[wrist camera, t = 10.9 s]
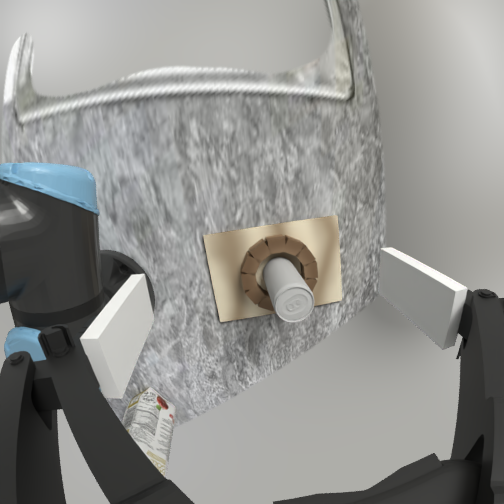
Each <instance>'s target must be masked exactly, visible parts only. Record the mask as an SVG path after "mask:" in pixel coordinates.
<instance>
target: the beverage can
mask: <svg viewBox="0 0 504 504" xmlns="http://www.w3.org/2000/svg"><path fill="white" fill-rule="evenodd" d="M263 278H264V281H265V284H266V287H267V290H268V293H269V296H270V299H271V302H272V305H273V307H274V310H275V312H276V314H277V315H278V316H279V317H280V318H281V319H282V320H284V321H286V322H291V323H295V322H299V321H302V320H304V319H305V318H307V317H308V316H309V315H310V314H311V312H312V310H313V308H314V296H313V293H312V291H311V290H310V288H309V287H308V285H307V284H306V283H305V281H304V280H303V278H302V277H301V275H300V274H299V273H298V271H297V270H296V268H295V267H294V265H293V264H292V263H291V261H289V260H288V259H286V258H284V257H275V258H273V259H271V260H270V261H268V262H267V264H266V265H265V267H264V269H263Z"/></svg>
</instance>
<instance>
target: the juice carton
mask: <svg viewBox="0 0 504 504" xmlns="http://www.w3.org/2000/svg"><path fill="white" fill-rule="evenodd" d="M175 410H176V407H175V406H174V405H173V404H172V403H170V402H169V401H168V400H166V399H165V398H163V397H162V396H161V395H160V394H159V393H158V392H157V391H155V390H154V389H153V388H151V387H150V388H148V389H147V390H145V391H143V392H142V393H140V394H139V395H137V396H135V397H134V398H132V399H131V400H130V402H129V403H128V405H127V408H126V411H125V414H124V417H123V419H122V422H121V423H122V424H123V426H124V427H125V429H126V430H127V431H128V433H129V434H130V435H131V437H132V438H133V439H134V441H135V442H136V443H137V445H138V446H139V447H140V448H141V450H142V451H143V452H144V453H145V455H146V456H147V457H148V458H149V460H150V461H151V462H152V463H153V464H154V466H155V467H156V468H157V469H158V470H159V471H160V472H161V474H162V475H163V476H164V477H165V478H166V473H167V467H168V460H169V454H170V447H171V440H172V433H173V428H174V421H175Z"/></svg>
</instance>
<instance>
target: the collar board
mask: <svg viewBox="0 0 504 504" xmlns="http://www.w3.org/2000/svg"><path fill="white" fill-rule="evenodd" d="M203 237H204V243H205V248H206V254H207V259H208V264H209V269H210V274H211V279H212V284H213V289H214V294H215V299H216V304H217V308H218V313H219V318H220V322H225V321H232V320H238V319H244V318H251V317H257V316H263V315H269V314H274V313H276V312H275V310H274V307H273V305H272V302H271V299H270V296H269V293H268V290H267V287H266V284H265V281H264V278H263V269H264V267H265V265H266V264H267V262H268V261H270V260H271V259H273V258H275V257H284V258H286V259H288V260H289V261H291V263H292V264H293V265H294V267H295V268H296V270H297V271H298V273H299V274H300V275H301V277H302V278H303V280H304V281H305V283H306V284H307V285H308V287H309V288H310V290H311V291H312V293H313V296H314V306H317V305H322V304H327V303H332V302H336V301H341V300H342V290H341V264H340V246H339V231H338V218H337V216H336V215H335V216H328V217H321V218H314V219H307V220H300V221H293V222H286V223H279V224H273V225H266V226H259V227H253V228H247V229H240V230H234V231H228V232H221V233H215V234H209V235H204V236H203Z"/></svg>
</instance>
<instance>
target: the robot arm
mask: <svg viewBox="0 0 504 504" xmlns="http://www.w3.org/2000/svg"><path fill="white" fill-rule="evenodd" d="M98 215H99V210H98V209H97V197H96V182H95V179H94V177H93V175H92V174H91V173H90V172H89V171H87V170H86V169H83V168H80V167H75V166H69V165H61V164H51V163H33V162H27V163H22V164H21V163H3V164H0V304H1V303H4V302H8V301H9V304H10V308H11V312H12V316H13V320H14V324H15V328H13V329H12V330H11V331H9V333H8V336H7V338H6V342H5V345H4V351H5V355H6V360H5V361H4V364H3V367H2V370H1V373H0V504H66V500H65V494H64V489H63V482H62V475H61V466H60V457H59V445H58V428H57V409H63V411H64V414H65V416H66V419H67V421H68V424H69V426H70V428H71V431H72V433H73V435H74V437H75V440H76V442H77V444H78V446H79V448H80V450H81V452H82V454H83V456H84V458H85V460H86V462H87V464H88V466H89V468H90V470H91V472H92V473H93V475H94V477H95V479H96V481H97V482H98V484H99V486H100V488H101V489H102V491H103V493H104V494H105V496H106V497H107V499H108V501H109V502H110V504H194V503H193V502H192V501H191V500H190V499H189V498H188V497H187V496H186V495H185V494H184V493H183V492H182V491H181V490H180V489H179V488H178V487H177V486H176V485H175V484H174V483H173V482H172V481H171V480H167V479H166V478H165V477H164V476H163V475H162V474H161V472H160V471H159V470H158V469H157V468H156V467H155V466H154V464H153V463H152V462H151V461H150V460H149V458H148V457H147V456H146V455H145V453H144V452H143V451H142V450H141V448H140V447H139V446H138V445H137V443H136V442H135V441H134V439H133V438H132V437H131V435H130V434H129V433H128V431H127V430H126V429H125V427H124V426H123V424H122V423H121V421H120V420H119V419H118V417H117V416H116V414H115V413H114V411H113V410H112V408H111V407H110V405H109V404H108V402H107V401H106V399H105V398H114V399H122V398H123V395H124V393H125V390H126V387H127V385H128V382H129V380H130V377H131V375H132V372H133V370H134V367H135V365H136V362H137V360H138V358H139V355H140V353H141V350H142V348H143V346H144V343H145V341H146V339H147V336H148V334H149V332H150V329H151V327H152V325H153V322H154V320H155V318H154V314H153V311H154V306H155V296H154V291H153V287H152V284H151V282H150V280H149V278H148V276H147V274H146V273H145V271H144V270H143V269H142V268H141V267H140V266H139V265H138V264H137V263H136V262H135V261H134V260H133V259H131V258H130V257H128V256H126V255H124V254H122V253H119V252H116V251H111V250H101V251H100V245H99V227H98ZM378 293H379V294H380V295H381V296H383V298H385V299H386V300H387V301H388V302H389V303H391V304H392V305H393V306H394V307H395V308H396V309H398V310H399V311H400V312H401V313H402V314H403V315H404V316H406V317H407V318H408V319H409V320H410V321H411V322H413V323H414V324H415V325H416V326H417V327H418V328H419V329H420V330H421V331H422V332H424V333H425V334H426V335H427V336H428V337H429V338H430V339H431V340H432V341H433V342H435V343H436V344H437V345H438V346H439V347H440V348H441V349H442V350H443V349H446V348H449V347H451V346H454V345H455V342H456V338H457V334H458V333H459V334H460V335H461V336H462V337H463V338H462V342H461V345H460V348H459V352H458V355H457V358H456V359H459V356H461V363H460V389H459V404H458V413H457V422H456V429H455V436H454V443H453V449H452V454H451V458H450V460H443V461H439V460H438V457H437V456H436V455H435V453H433V454H431V455H429V456H427V457H425V458H422V459H420V460H418V461H416V462H413V463H411V464H409V465H407V466H404V467H402V468H400V469H399V470H397V471H396V472H395V473H393V474H392V475H390V476H388V477H387V478H385V479H384V480H382V481H381V482H379V483H378V484H376V485H374V486H373V487H371V488H369V489H367V490H364V491H356V492H343V493H325V494H315V495H310V496H305V497H299V498H294V499H289V500H282V501H275V502H273V504H504V298H498V296H497V295H496V294H495V293H494V292H492V291H490V290H487V289H479V290H475V291H474V292H472V291H470V290H468V288H466V287H465V286H463V285H461V284H459V283H457V282H455V281H454V280H452V279H450V278H449V277H447V276H445V275H443V274H441V273H440V272H437V271H436V270H434V269H432V268H430V267H428V266H427V265H425V264H423V263H421V262H419V261H417V260H415V259H413V258H411V257H409V256H407V255H406V254H404V253H402V252H399V251H398V250H396V249H394V248H392V247H391V248H382V249H381V254H380V273H379V287H378ZM101 391H102V393H103V394H102V393H101ZM103 395H104V396H103Z"/></svg>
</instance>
